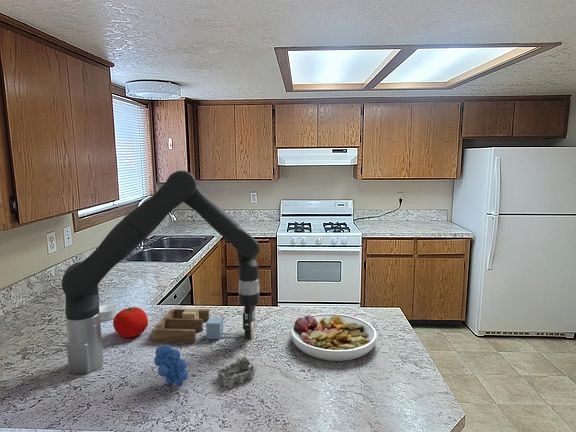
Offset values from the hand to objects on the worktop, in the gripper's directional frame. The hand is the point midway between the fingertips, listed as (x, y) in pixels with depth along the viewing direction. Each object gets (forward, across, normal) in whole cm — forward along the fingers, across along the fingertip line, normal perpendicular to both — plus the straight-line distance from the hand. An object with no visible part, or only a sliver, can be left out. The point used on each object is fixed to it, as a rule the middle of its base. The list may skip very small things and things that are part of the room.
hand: (249, 333), depth 139 cm
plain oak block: (+2, +9, +25) cm, 27 cm away
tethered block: (+1, 0, +7) cm, 7 cm away
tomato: (+2, 0, +44) cm, 45 cm away
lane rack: (+2, +4, +26) cm, 26 cm away
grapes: (+2, -32, +18) cm, 37 cm away
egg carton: (+2, -26, 0) cm, 26 cm away
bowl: (+2, -2, -30) cm, 31 cm away
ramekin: (+2, +14, +62) cm, 64 cm away
